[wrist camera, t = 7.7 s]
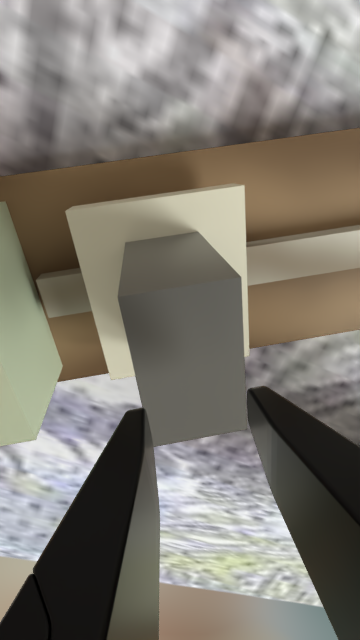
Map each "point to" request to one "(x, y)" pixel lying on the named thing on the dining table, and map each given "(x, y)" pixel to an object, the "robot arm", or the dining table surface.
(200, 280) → the carriage
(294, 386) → the dining table surface
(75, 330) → the rail track
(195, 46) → the dining table surface
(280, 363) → the dining table surface
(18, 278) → the cabinet
